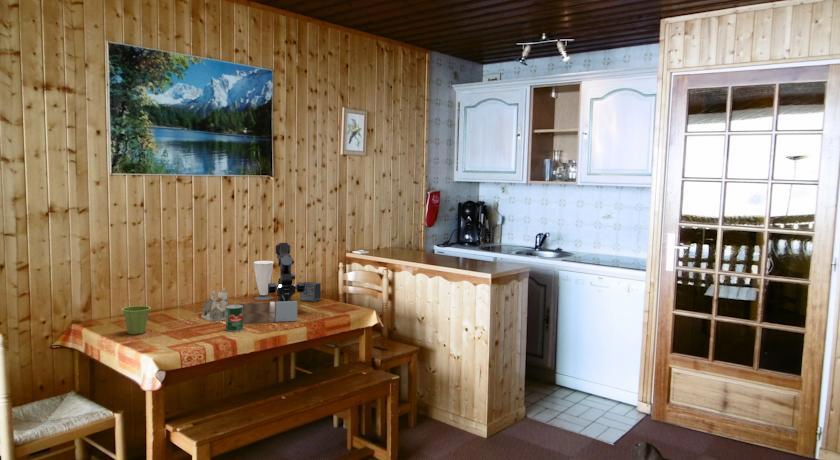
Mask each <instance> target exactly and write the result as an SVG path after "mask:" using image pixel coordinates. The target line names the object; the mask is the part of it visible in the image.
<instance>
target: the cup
mask: <svg viewBox="0 0 840 460" xmlns="http://www.w3.org/2000/svg"><path fill="white" fill-rule="evenodd" d="M274 263H275V262H274V261H272V260H257V261H254V262H253V266H254V267H253V268H254V275H255V281H256V286H257V289H258V294H259V296H255V297H253V299H254V300H257V301H268V300H269V301H270V300H273V299H274V298H275V297H274V296H271V295H268V294H269V293H268V284H269V283H272V282H271V281H272V275H273V267H274Z"/></svg>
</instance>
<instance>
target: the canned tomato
mask: <svg viewBox="0 0 840 460" xmlns="http://www.w3.org/2000/svg"><path fill="white" fill-rule="evenodd" d="M226 330H227V331H226ZM239 330H240V331H243V330H244V324H243V305H239V304H228V306H226V320H225V331H226V332H238V331H239ZM240 331H239V332H240Z"/></svg>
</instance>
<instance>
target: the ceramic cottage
mask: <svg viewBox="0 0 840 460" xmlns="http://www.w3.org/2000/svg"><path fill="white" fill-rule="evenodd" d="M210 294H211V295H210V297H209V298H208V299H207V301H206V302H205V303H204V304H203V305H202V308H203V309H202V312H201V314H200V318H201V319H203V318H204V320H205V321H208V320H209V321H208V322H223V321H226V306H228V305H229V303H230V301H229V295H228V292H226V287H223V288H222V289H221V291H218V294H217V298H216V292H215V291H214V290H213V291H211V292H210ZM222 320H223V321H222Z"/></svg>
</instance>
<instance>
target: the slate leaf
mask: <svg viewBox="0 0 840 460" xmlns="http://www.w3.org/2000/svg"><path fill="white" fill-rule="evenodd" d="M270 312H275V323H276V322H297V321H298V300H294V301H293V300H291V301H286V302H278V301H270V302H269V313H270Z"/></svg>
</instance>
